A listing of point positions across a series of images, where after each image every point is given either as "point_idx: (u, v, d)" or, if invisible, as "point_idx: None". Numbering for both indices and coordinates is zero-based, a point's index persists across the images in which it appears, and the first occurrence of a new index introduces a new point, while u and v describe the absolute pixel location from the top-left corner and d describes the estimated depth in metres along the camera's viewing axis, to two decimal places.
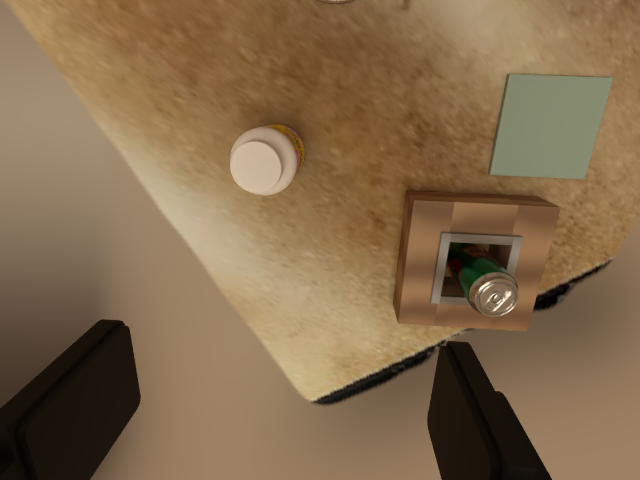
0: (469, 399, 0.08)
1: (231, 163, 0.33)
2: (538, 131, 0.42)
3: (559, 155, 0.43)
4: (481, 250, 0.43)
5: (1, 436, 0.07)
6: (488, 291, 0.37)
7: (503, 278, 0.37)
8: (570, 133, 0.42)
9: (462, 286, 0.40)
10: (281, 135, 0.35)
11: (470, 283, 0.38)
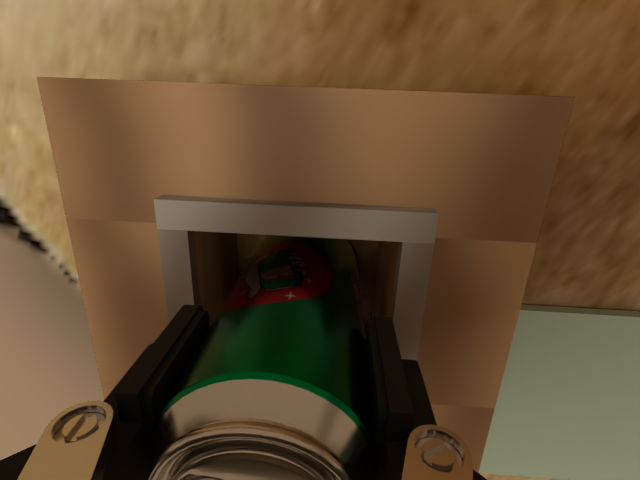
0: (377, 362, 0.09)
1: None
2: (601, 390, 0.19)
3: (537, 430, 0.20)
4: None
5: (132, 401, 0.08)
6: None
7: None
8: (580, 441, 0.21)
9: (264, 322, 0.09)
10: None
11: (308, 375, 0.08)
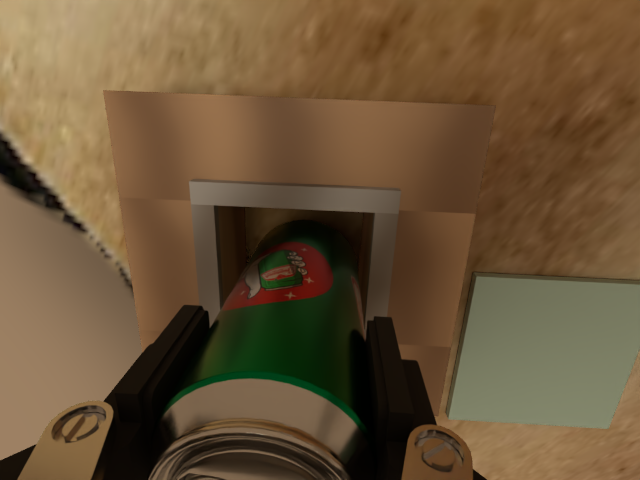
0: (376, 362, 0.09)
1: None
2: (546, 344, 0.23)
3: (495, 380, 0.25)
4: None
5: (132, 401, 0.08)
6: None
7: None
8: (531, 389, 0.25)
9: (264, 322, 0.09)
10: None
11: (308, 375, 0.08)
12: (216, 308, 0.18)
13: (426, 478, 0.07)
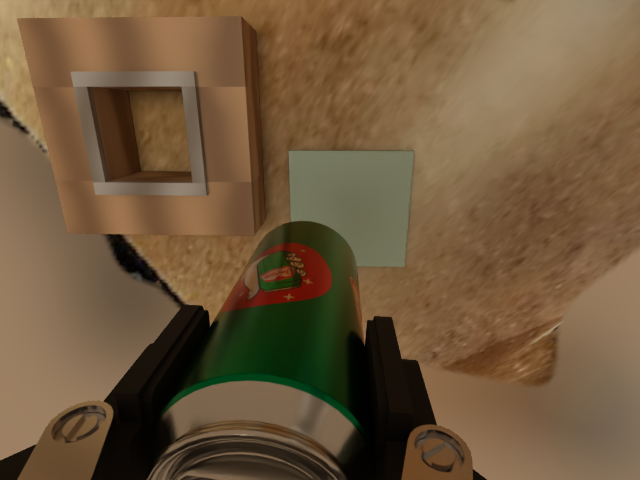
0: (376, 362, 0.09)
1: None
2: (346, 200, 0.34)
3: None
4: None
5: (132, 401, 0.08)
6: None
7: None
8: (344, 237, 0.35)
9: (262, 324, 0.09)
10: None
11: (306, 376, 0.08)
12: (98, 158, 0.29)
13: (426, 478, 0.07)
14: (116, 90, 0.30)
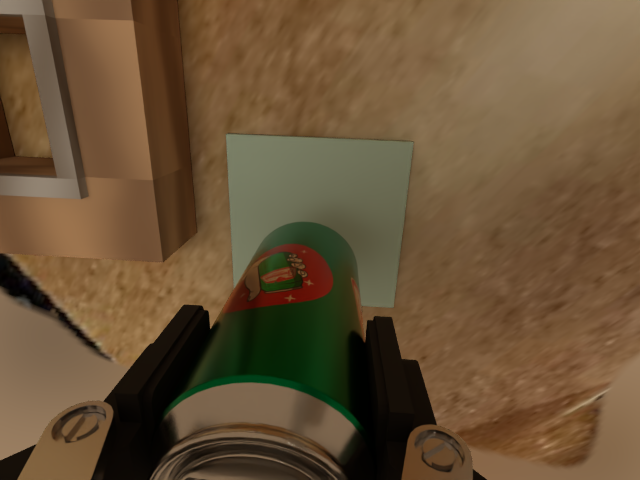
0: (376, 362, 0.09)
1: None
2: (311, 210, 0.23)
3: None
4: None
5: (132, 401, 0.08)
6: None
7: None
8: None
9: (264, 325, 0.09)
10: None
11: (308, 378, 0.08)
12: None
13: (426, 478, 0.07)
14: None
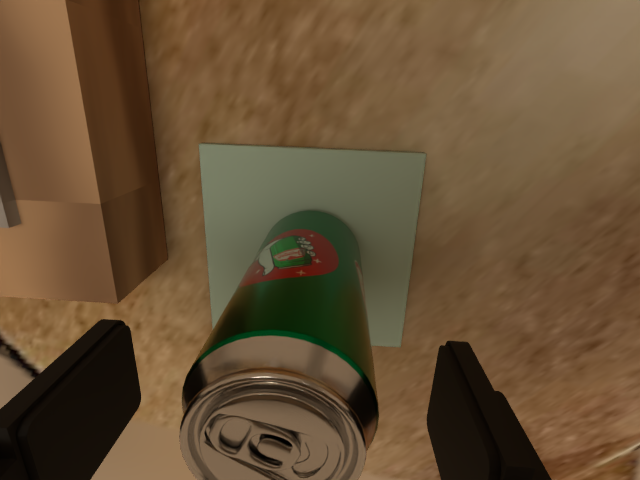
0: (468, 398, 0.08)
1: None
2: None
3: None
4: None
5: (2, 436, 0.07)
6: (305, 423, 0.08)
7: None
8: None
9: (279, 293, 0.10)
10: None
11: (319, 334, 0.09)
12: None
13: None
14: None
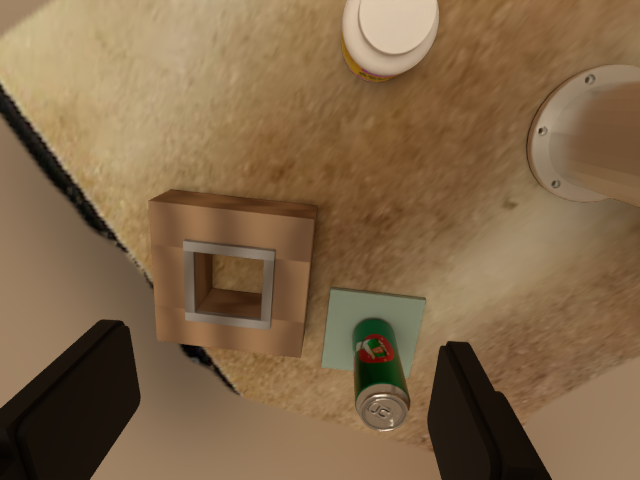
0: (469, 399, 0.08)
1: None
2: None
3: (345, 346, 0.45)
4: None
5: (1, 436, 0.07)
6: (394, 406, 0.33)
7: None
8: None
9: (382, 369, 0.35)
10: None
11: (396, 383, 0.33)
12: (192, 297, 0.38)
13: None
14: None
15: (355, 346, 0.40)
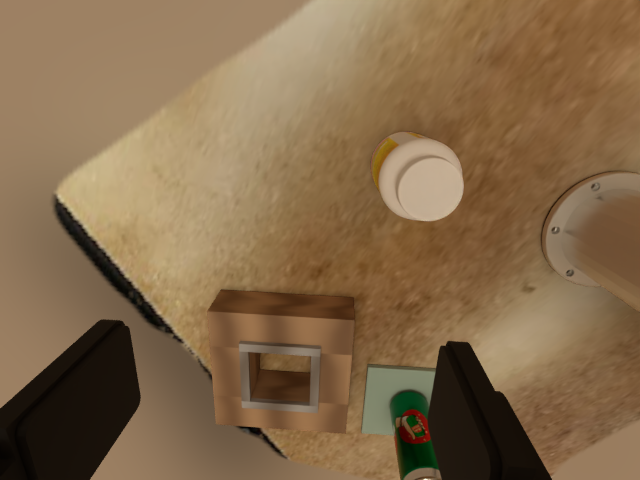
0: (469, 399, 0.08)
1: (439, 160, 0.26)
2: None
3: (383, 414, 0.49)
4: None
5: (1, 436, 0.07)
6: None
7: None
8: None
9: (423, 450, 0.39)
10: None
11: None
12: (248, 388, 0.43)
13: None
14: None
15: (394, 421, 0.45)
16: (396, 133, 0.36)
